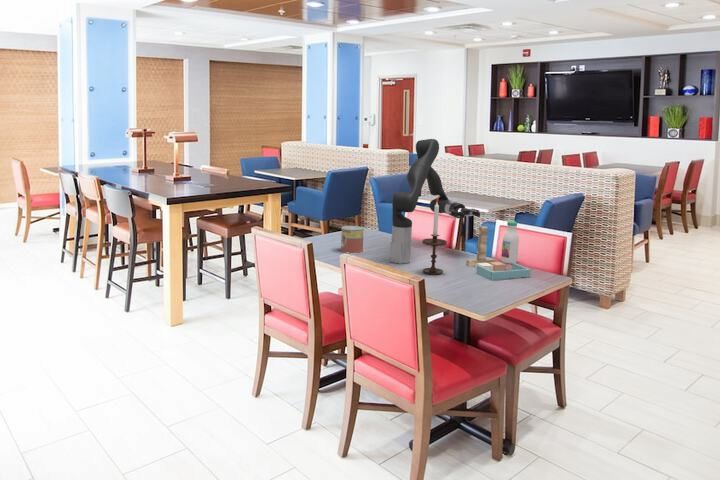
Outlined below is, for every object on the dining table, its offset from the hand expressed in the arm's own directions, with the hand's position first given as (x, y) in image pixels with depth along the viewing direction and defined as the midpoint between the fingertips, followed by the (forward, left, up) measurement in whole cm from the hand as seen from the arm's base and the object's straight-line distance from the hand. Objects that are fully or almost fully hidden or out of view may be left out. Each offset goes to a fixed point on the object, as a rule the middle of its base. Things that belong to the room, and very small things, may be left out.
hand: (471, 215), depth 310 cm
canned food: (-28, +51, -22) cm, 63 cm away
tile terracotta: (-7, -19, -22) cm, 30 cm away
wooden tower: (-6, -10, -22) cm, 25 cm away
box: (-15, -26, -22) cm, 37 cm away
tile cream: (-13, -16, -22) cm, 30 cm away
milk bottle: (+10, -17, -22) cm, 30 cm away
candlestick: (-34, -1, -22) cm, 41 cm away
